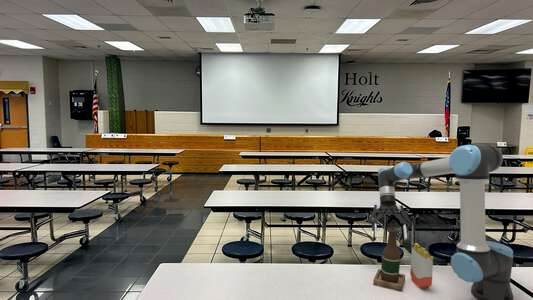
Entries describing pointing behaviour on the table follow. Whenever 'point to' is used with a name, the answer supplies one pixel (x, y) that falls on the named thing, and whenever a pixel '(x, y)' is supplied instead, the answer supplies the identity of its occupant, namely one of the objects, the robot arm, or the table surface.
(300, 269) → the table surface
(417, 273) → the french fries container
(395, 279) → the beer bottle
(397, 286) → the wooden tray
